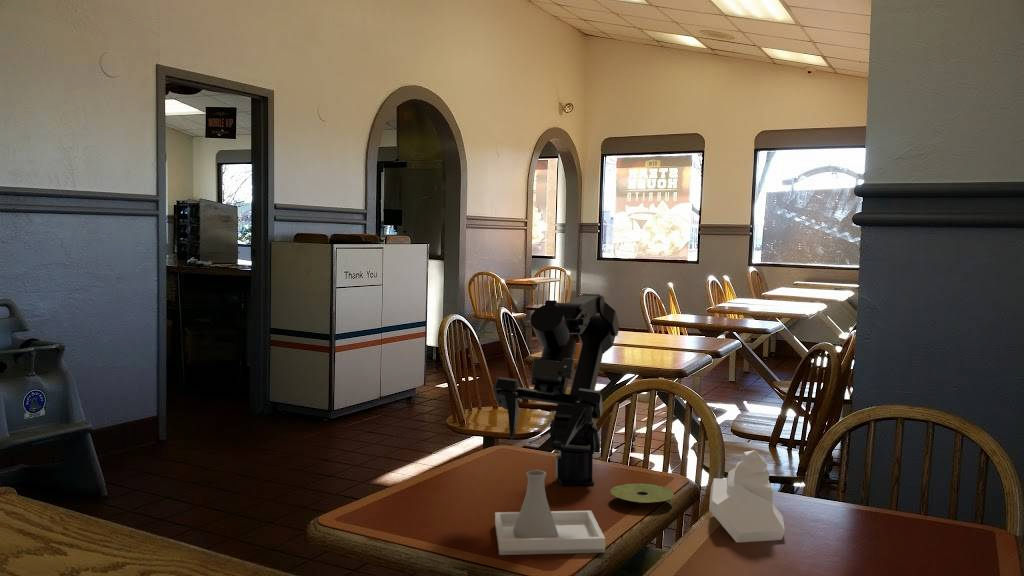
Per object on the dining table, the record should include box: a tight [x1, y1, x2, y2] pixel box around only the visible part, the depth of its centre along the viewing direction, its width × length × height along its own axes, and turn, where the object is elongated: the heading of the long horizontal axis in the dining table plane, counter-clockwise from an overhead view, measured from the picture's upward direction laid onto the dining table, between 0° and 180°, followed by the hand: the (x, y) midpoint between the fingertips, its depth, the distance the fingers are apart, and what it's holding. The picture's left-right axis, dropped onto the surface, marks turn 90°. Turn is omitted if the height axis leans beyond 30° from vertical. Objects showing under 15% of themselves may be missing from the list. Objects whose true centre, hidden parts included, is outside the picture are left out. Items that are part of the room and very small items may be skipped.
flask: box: [513, 469, 559, 538], centre depth 131 cm, size 7×7×10 cm
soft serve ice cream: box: [709, 449, 785, 543], centre depth 136 cm, size 12×15×14 cm
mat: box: [610, 483, 675, 505], centre depth 150 cm, size 11×11×2 cm
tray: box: [494, 510, 606, 556], centre depth 132 cm, size 16×13×2 cm
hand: (537, 441), depth 140 cm, fingers open, 9 cm apart
